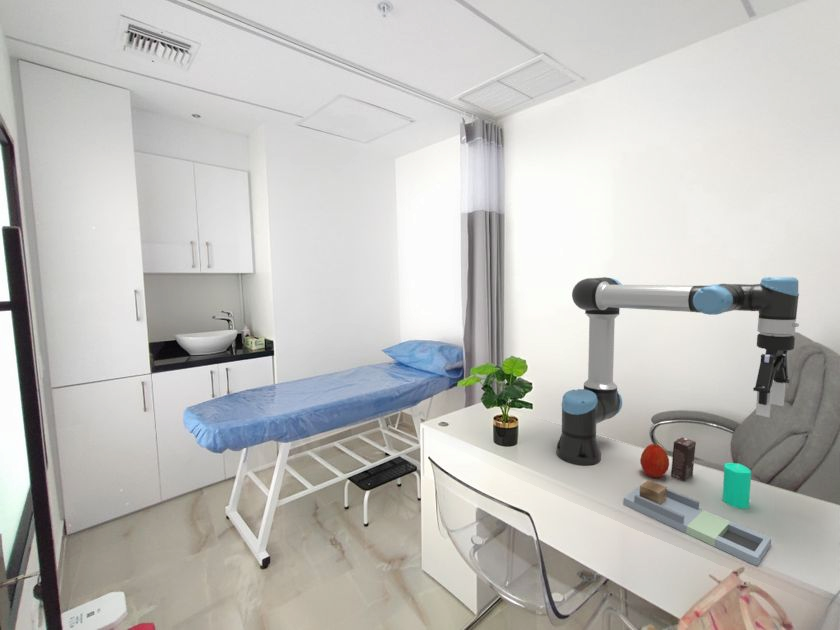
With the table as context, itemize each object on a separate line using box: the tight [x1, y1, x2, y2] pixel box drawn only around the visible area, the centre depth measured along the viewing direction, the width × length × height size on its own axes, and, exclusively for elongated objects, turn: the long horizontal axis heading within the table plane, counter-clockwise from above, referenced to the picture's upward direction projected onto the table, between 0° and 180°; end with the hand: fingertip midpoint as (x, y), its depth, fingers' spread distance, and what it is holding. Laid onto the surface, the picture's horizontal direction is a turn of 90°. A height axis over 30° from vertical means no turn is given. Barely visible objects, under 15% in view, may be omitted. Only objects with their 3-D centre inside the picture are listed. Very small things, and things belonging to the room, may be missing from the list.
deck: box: [622, 486, 772, 567], centre depth 103 cm, size 30×11×4 cm, turn 36°
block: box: [639, 479, 668, 505], centre depth 110 cm, size 5×5×4 cm
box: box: [670, 437, 697, 482], centre depth 125 cm, size 6×4×12 cm
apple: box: [639, 443, 670, 478], centre depth 127 cm, size 8×8×11 cm
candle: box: [722, 462, 752, 510], centre depth 111 cm, size 6×6×12 cm
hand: (770, 410), depth 107 cm, fingers open, 13 cm apart
